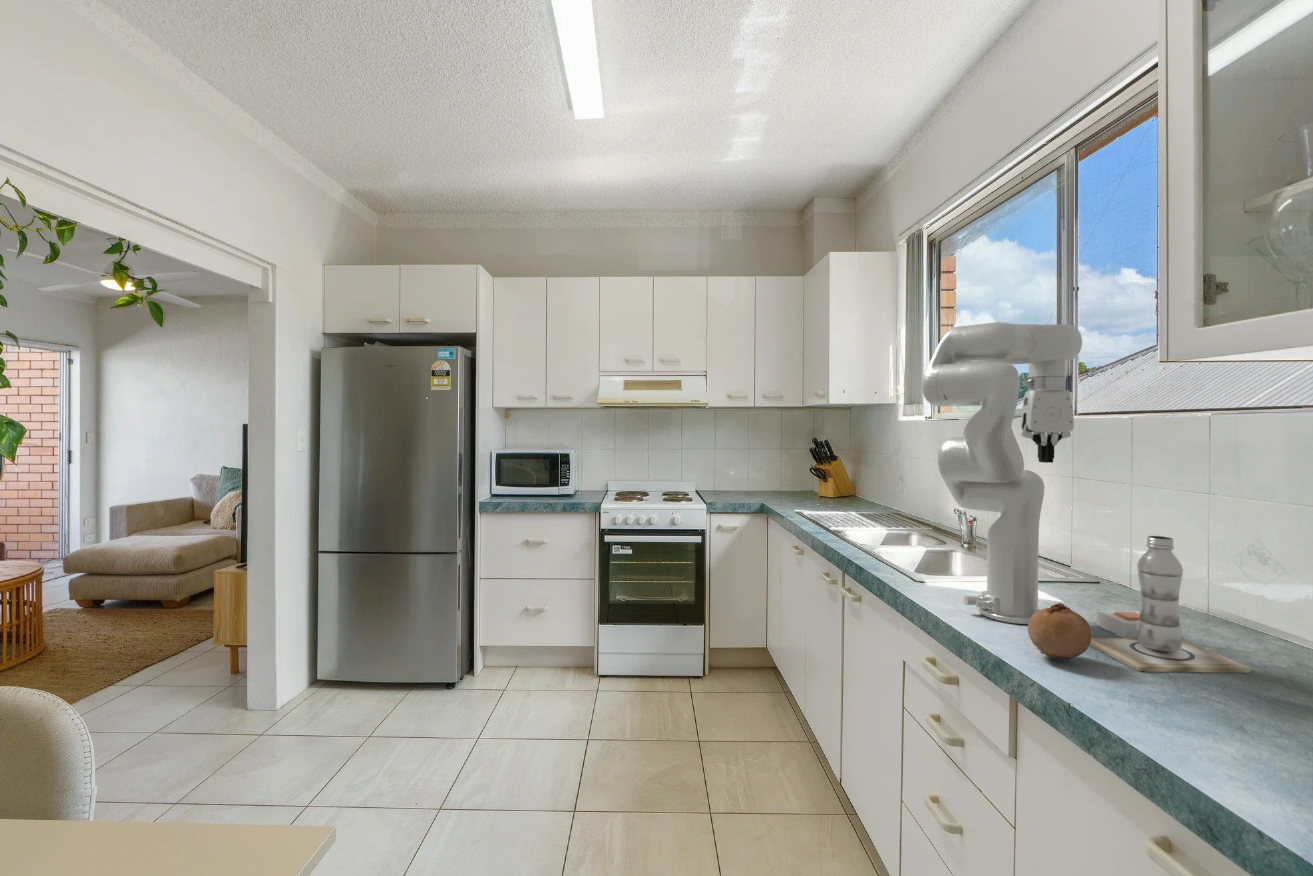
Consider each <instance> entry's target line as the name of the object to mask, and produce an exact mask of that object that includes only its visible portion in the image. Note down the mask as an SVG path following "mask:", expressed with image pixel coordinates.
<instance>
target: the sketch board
mask: <svg viewBox="0 0 1313 876" xmlns="http://www.w3.org/2000/svg"><path fill="white" fill-rule="evenodd" d="M1090 645H1091V646H1090ZM1090 645H1089V646H1090V647H1092V648H1094V647H1095V650H1098V651H1099V650H1100V652H1101V651H1102V653H1103V652H1104V654H1105V653H1106V654H1105V655H1107V654H1108V655H1107V656H1109V655H1110V656H1109V657H1111V658H1112V657H1113V659H1114V658H1115V660H1116V659H1117V660H1116V661H1118V662H1120V661H1121V662H1120V663H1122V664H1124V665H1125V664H1126V665H1125V666H1127V665H1128V667H1130V668H1131V667H1132V669H1133V670H1135V671H1136V672H1142V671H1144V672H1145V671H1146V673H1147V672H1151V673H1153V672H1155V673H1157V672H1158V673H1159V672H1161V673H1162V672H1163V673H1238V674H1240V673H1242V674H1243V673H1246V674H1249V673H1251V667H1249V666H1248V665H1247V666H1246V665H1244V664H1242V663H1240V662H1238V661H1236V660H1232V659H1230V658H1228V657H1225V656H1223V655H1222V654H1219V653H1216V652H1213V651H1212V650H1209V649H1207V648H1205V647H1203V646H1200V645H1197V644H1195V643H1193V642H1191V641H1189V640H1185V639H1184V638H1183V641H1182V646H1181V648H1180V649H1179V650H1178V651H1176V652H1165V651H1158V650H1154V649H1150V648H1147V647H1145V646H1143V645H1141V643H1140V642H1139V641H1138V638H1122V637H1120V638H1119V637H1117V638H1116V637H1092V638H1091V643H1090Z"/></svg>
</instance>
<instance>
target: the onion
mask: <svg viewBox="0 0 1313 876" xmlns="http://www.w3.org/2000/svg"><path fill="white" fill-rule="evenodd" d="M1027 634H1028V636H1029V639H1030V641H1031V642H1032V644H1033V646H1035V647H1036V648H1037V650H1039V651H1040V654H1042V655H1045V656H1047V657H1050V658H1054V659H1057V658H1060V659H1059V660H1068V661H1069V660H1070V659H1073V658H1076V657H1078V656H1080V655H1082V654H1084V653H1086V651H1087V650H1088V648H1089V647H1090V643H1091V638H1093V637H1092V629H1091V626H1090V625H1089V622H1088V621H1087V620H1086V618H1084V617H1083V616H1082V615H1081V614H1080V613H1078V612H1076V611H1074V610H1072V609H1071V608H1070V607H1068V606H1067V605H1065V604H1064V603H1061V602H1058V603H1055V604H1053V605H1050V606H1049V607H1045V608H1042V609H1039V611H1038V612H1036V613H1035V614H1033V616H1032V617H1031V618H1030V621H1029V624H1027Z"/></svg>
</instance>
